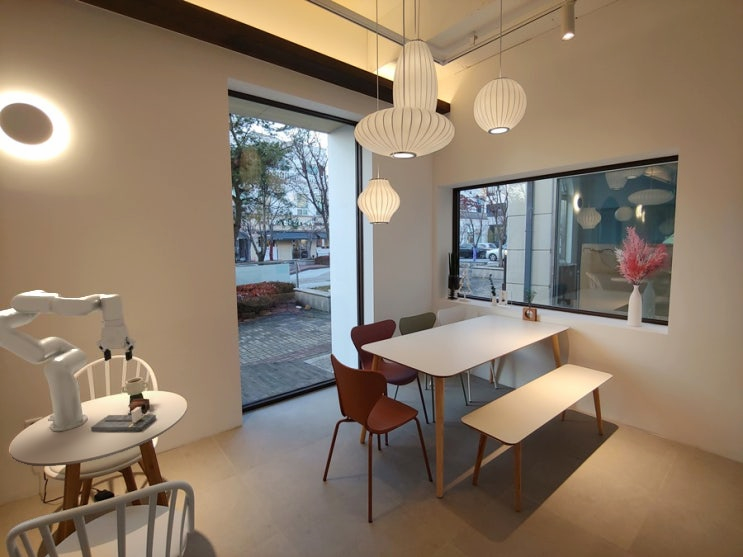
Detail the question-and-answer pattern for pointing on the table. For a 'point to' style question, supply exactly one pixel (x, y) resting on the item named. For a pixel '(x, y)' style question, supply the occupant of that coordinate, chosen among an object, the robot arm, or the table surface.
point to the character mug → (135, 388)
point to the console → (123, 423)
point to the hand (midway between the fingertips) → (118, 359)
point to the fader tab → (136, 414)
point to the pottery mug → (139, 402)
